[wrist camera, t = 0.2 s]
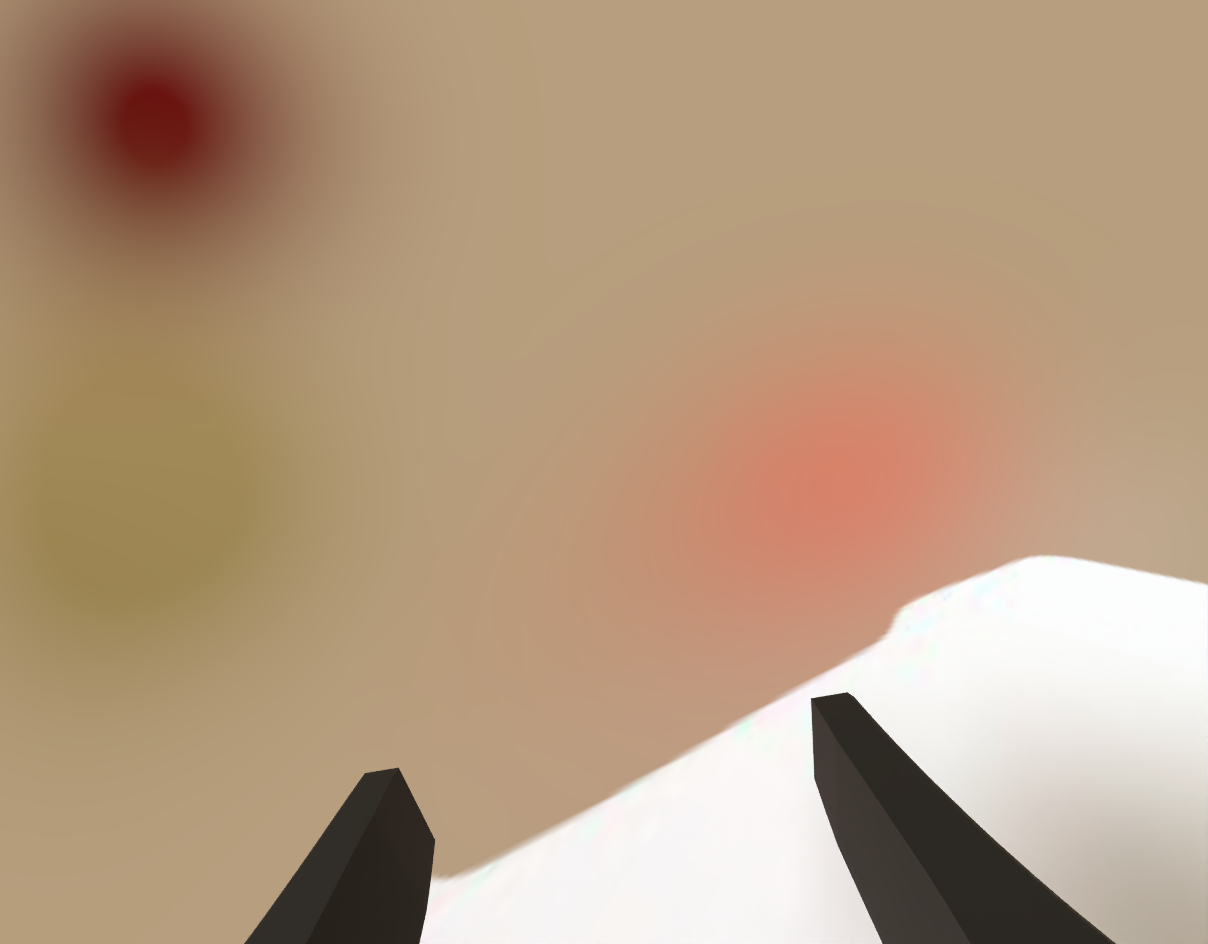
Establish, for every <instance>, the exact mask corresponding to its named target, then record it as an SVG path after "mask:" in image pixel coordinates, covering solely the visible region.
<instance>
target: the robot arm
mask: <svg viewBox="0 0 1208 944" xmlns="http://www.w3.org/2000/svg"><path fill="white" fill-rule="evenodd" d="M811 707H812V731H813V754H814V778H815V782H816V784H817V787H818V790H819V793H820V796H821V799H822V802H823V805H824V808H825V811H826V814H827V816H828V819H829V822H830V825H831V828H832V830H833V833H834V836H835V839H836V842H837V844H838V847H839V849H840V851H841V853H842V856H843V858H844V860H845V862H846V865H847V867H848V869H849V871H850V873H851V875H852V878H853V880H854V882H855V884H856V886H857V889H858V891H859V893H860V895H861V897H862V900H863V902H864V904H865V906H866V908H867V911H868V913H869V915H870V917H871V919H872V921H873V924H874V926H875V928H876V930H877V932H878V934H879V937H880V939H881V941H882V943H883V944H1115V943H1114V942H1113V941H1112V940H1111V939H1109V938H1108V937H1107V936H1106V935H1104V934H1103V933H1102V932H1101V931H1099V930H1098V929H1097V928H1096V927H1095V926H1093V925H1092V924H1091V923H1090V922H1088V921H1087V920H1086V919H1085V918H1084V917H1082V916H1081V915H1080V914H1079V913H1077V912H1076V911H1075V910H1074V909H1073V908H1072V907H1070V906H1069V905H1068V904H1067V903H1066V902H1064V901H1063V900H1062V899H1061V898H1060V897H1059V896H1057V895H1056V894H1055V893H1054V892H1053V891H1052V890H1050V889H1049V888H1048V887H1047V886H1046V885H1045V884H1043V883H1042V882H1041V881H1040V880H1039V879H1038V878H1037V877H1035V876H1034V875H1033V874H1032V873H1031V872H1030V871H1029V870H1028V869H1026V868H1025V867H1024V866H1023V865H1022V864H1021V863H1020V862H1019V861H1017V860H1016V859H1015V858H1014V857H1013V856H1012V855H1011V854H1010V853H1008V852H1007V851H1006V850H1005V849H1004V848H1003V847H1002V846H1001V845H1000V844H998V843H997V842H996V841H995V840H994V839H993V838H992V837H991V836H990V835H989V834H988V833H987V832H985V831H984V830H983V829H982V828H981V827H980V826H979V825H978V824H977V823H976V822H975V821H974V820H973V819H972V818H971V817H970V816H968V815H967V814H966V813H965V812H964V811H963V810H962V809H961V808H960V807H959V806H958V805H957V804H956V803H955V802H954V801H953V800H952V799H951V798H950V797H949V796H948V795H947V794H946V793H945V792H944V791H943V790H942V789H941V788H940V787H939V786H937V785H936V784H935V783H934V782H933V781H932V780H931V779H930V778H929V777H928V776H927V775H926V774H925V773H924V772H923V771H922V770H921V769H920V768H919V767H918V765H917V764H916V763H915V762H914V761H913V760H912V759H911V758H910V757H909V756H908V755H907V754H906V753H905V752H904V751H903V750H902V749H901V748H900V747H899V746H898V745H897V744H896V743H895V742H894V740H893V739H892V738H891V737H890V736H889V735H888V734H887V733H886V732H885V731H884V730H883V729H882V728H881V727H880V725H879V724H878V723H877V722H876V721H875V720H874V719H873V718H872V717H871V715H870V714H869V713H868V712H867V711H866V710H865V709H864V708H863V707H862V705H861V704H860V703H859V702H858V701H857V700H856V699H855V697H854V696H852V695H851V694H849V693H841V694H835V695H829V696H823V697H817V698H811ZM434 846H435V839H434V837H433V835H432V833H431V831H430V829H429V827H428V825H427V823H426V821H425V819H424V817H423V815H422V813H421V811H420V809H419V807H418V805H417V803H416V801H415V799H414V797H413V795H412V793H411V791H410V789H409V787H408V785H407V783H406V781H405V780H404V777H403V775H402V773H401V771H400V770H399V768H394V769H388V770H382V771H376V772H370V773H365V774H364V775H363V777H362V778H361V780H360V781H359V782H358V784H357V785H356V787H355V788H354V789H353V791H352V792H351V794H350V795H349V797H348V798H347V800H346V801H345V802H344V804H343V805H342V807H341V808H340V810H339V811H338V812H337V814H336V815H335V817H334V818H333V820H332V821H331V823H330V824H329V825H328V827H327V829H326V830H325V831H324V833H323V834H322V836H321V837H320V839H319V840H318V842H317V843H316V844H315V846H314V847H313V849H312V850H311V852H310V853H309V855H308V856H307V857H306V859H305V860H304V862H303V863H302V864H301V866H300V867H299V869H298V870H297V872H296V873H295V874H294V876H293V877H292V879H291V880H290V881H289V883H288V884H287V886H286V887H285V888H284V890H283V891H282V893H281V894H280V895H279V897H278V898H277V900H276V901H275V902H274V904H273V905H272V907H271V908H270V909H269V911H268V912H267V914H266V915H265V917H264V918H263V919H262V920H261V922H260V923H259V925H258V926H257V928H256V929H255V930H254V932H253V933H252V934H251V935H250V937H249V938H248V939H247V941H246V942H245V943H244V944H419V943H420V938H421V934H422V929H423V925H424V920H425V915H426V911H427V904H428V896H429V889H430V882H431V873H432V864H433V854H434Z"/></svg>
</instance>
